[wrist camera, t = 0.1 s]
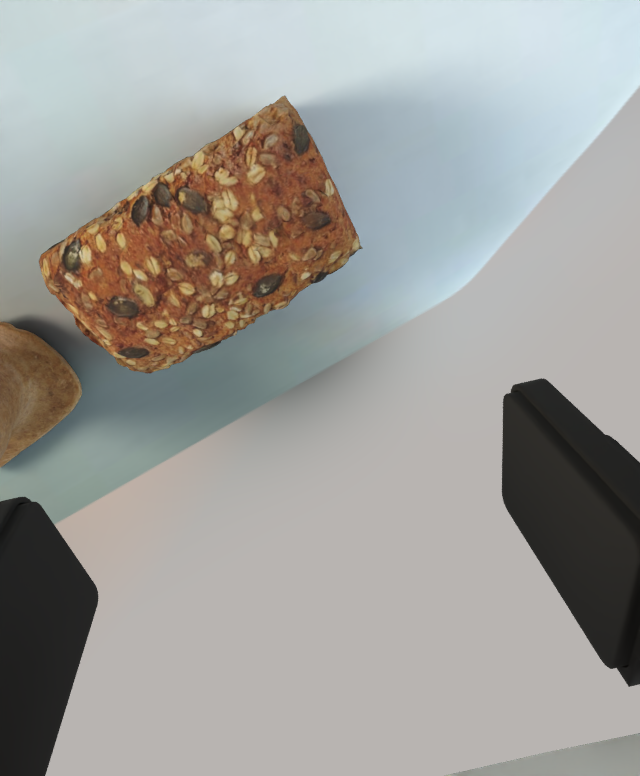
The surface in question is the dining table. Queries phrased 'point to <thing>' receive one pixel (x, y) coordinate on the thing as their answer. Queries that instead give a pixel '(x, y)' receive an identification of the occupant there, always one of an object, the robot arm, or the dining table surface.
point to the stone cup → (31, 390)
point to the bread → (205, 245)
